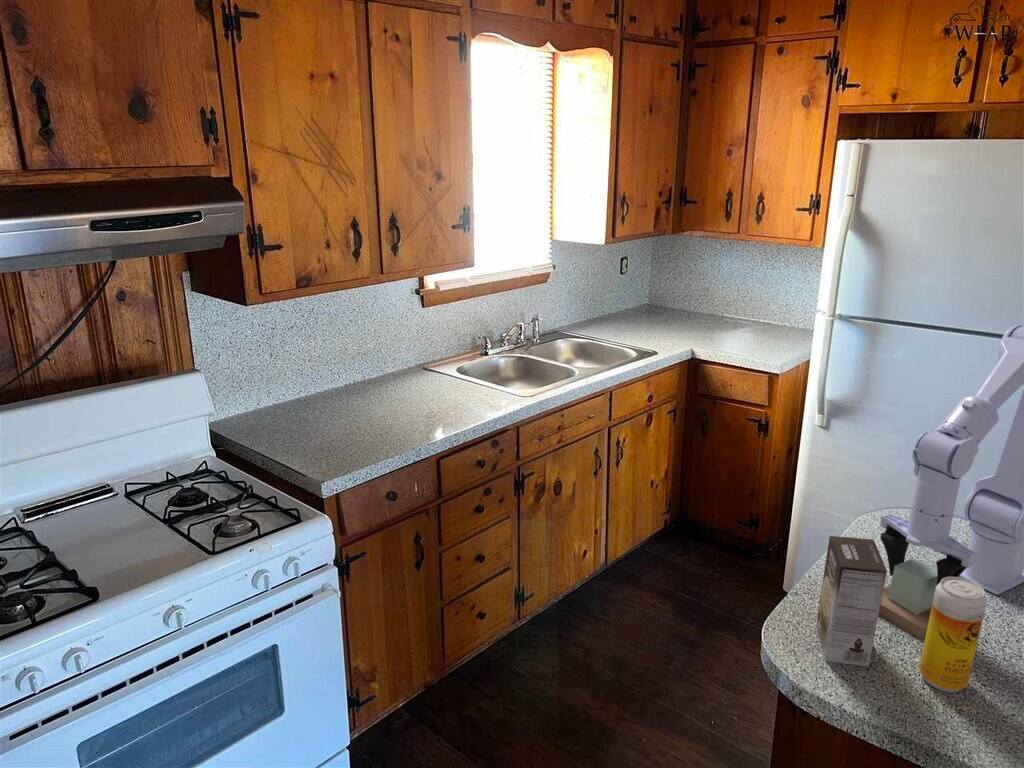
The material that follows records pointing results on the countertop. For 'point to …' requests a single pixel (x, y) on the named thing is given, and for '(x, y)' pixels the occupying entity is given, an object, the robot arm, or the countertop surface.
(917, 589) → the sage block
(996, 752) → the countertop surface
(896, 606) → the walnut board
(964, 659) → the beer can
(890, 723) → the countertop surface
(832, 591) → the coffee box
